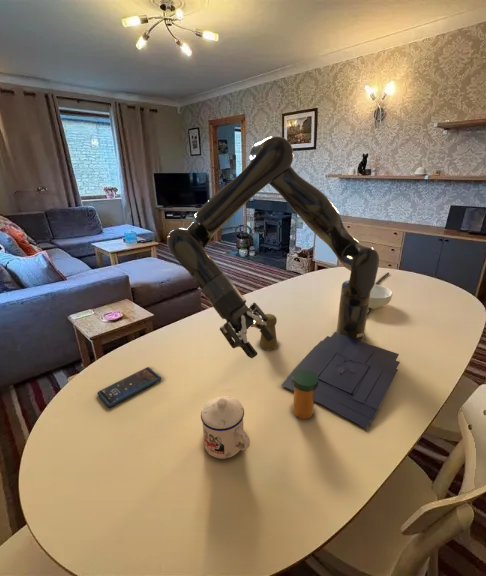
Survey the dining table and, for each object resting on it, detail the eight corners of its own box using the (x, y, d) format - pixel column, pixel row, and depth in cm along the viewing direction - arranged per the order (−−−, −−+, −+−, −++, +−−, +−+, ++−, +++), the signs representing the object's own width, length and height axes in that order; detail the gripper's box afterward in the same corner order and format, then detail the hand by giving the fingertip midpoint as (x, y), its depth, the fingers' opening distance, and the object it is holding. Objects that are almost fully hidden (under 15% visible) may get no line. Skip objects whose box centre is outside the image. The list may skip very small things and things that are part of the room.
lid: (301, 372, 77) (301, 366, 76) (322, 382, 73) (322, 376, 73) (287, 384, 73) (287, 378, 72) (309, 395, 69) (309, 389, 68)
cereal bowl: (393, 302, 134) (396, 287, 132) (385, 317, 121) (388, 301, 119) (354, 294, 143) (356, 280, 140) (343, 307, 130) (344, 292, 127)
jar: (300, 401, 79) (302, 369, 76) (316, 410, 77) (319, 378, 73) (289, 412, 76) (291, 379, 72) (306, 422, 73) (308, 388, 69)
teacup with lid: (194, 443, 68) (190, 402, 63) (225, 419, 74) (223, 380, 69) (233, 478, 60) (231, 434, 56) (263, 448, 67) (263, 406, 62)
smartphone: (161, 377, 87) (108, 406, 77) (162, 379, 87) (109, 408, 77) (148, 366, 92) (96, 391, 81) (148, 368, 92) (96, 394, 82)
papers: (404, 363, 92) (406, 354, 90) (366, 437, 72) (368, 426, 70) (329, 336, 106) (330, 328, 104) (280, 392, 86) (280, 382, 84)
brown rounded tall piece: (275, 350, 101) (276, 321, 96) (257, 348, 102) (257, 319, 97) (278, 340, 106) (279, 312, 102) (261, 339, 107) (261, 310, 103)
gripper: (214, 298, 69) (258, 356, 68) (247, 279, 80) (286, 328, 79) (197, 314, 73) (239, 368, 72) (231, 293, 85) (267, 340, 84)
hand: (263, 347), depth 76 cm, fingers open, 8 cm apart
